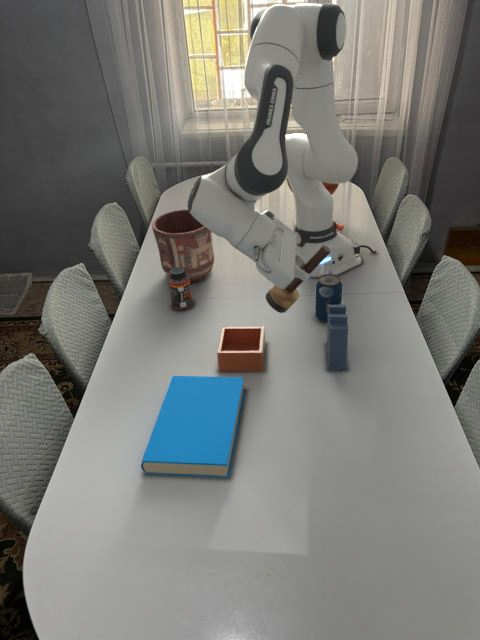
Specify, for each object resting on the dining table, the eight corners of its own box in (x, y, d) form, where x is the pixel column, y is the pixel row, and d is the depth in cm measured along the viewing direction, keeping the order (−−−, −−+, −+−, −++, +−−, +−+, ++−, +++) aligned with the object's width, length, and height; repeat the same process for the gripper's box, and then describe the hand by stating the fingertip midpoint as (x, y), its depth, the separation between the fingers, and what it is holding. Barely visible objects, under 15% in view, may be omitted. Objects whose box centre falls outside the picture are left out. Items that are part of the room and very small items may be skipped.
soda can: (330, 328, 135) (332, 289, 127) (309, 319, 138) (310, 280, 131) (345, 316, 139) (348, 278, 131) (325, 308, 142) (326, 270, 135)
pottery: (152, 286, 157) (140, 231, 146) (174, 259, 170) (165, 207, 159) (206, 291, 153) (198, 235, 142) (224, 263, 166) (219, 211, 155)
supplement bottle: (189, 311, 144) (184, 276, 137) (169, 310, 145) (163, 275, 139) (196, 300, 149) (190, 265, 142) (176, 299, 150) (170, 264, 143)
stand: (328, 370, 121) (330, 323, 113) (326, 344, 129) (328, 299, 121) (345, 370, 121) (348, 323, 113) (342, 344, 129) (345, 299, 121)
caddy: (219, 371, 123) (217, 353, 119) (224, 344, 131) (222, 326, 128) (263, 371, 122) (262, 352, 119) (265, 344, 130) (264, 326, 127)
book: (243, 376, 115) (228, 463, 95) (245, 391, 117) (230, 478, 97) (169, 375, 116) (138, 459, 96) (172, 389, 119) (142, 474, 99)
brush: (267, 318, 116) (256, 258, 106) (269, 304, 120) (259, 245, 111) (335, 313, 113) (330, 251, 104) (334, 298, 118) (330, 238, 109)
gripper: (261, 249, 97) (317, 289, 101) (269, 206, 113) (317, 242, 117) (242, 272, 100) (297, 309, 105) (252, 227, 116) (300, 261, 121)
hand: (308, 273), depth 111 cm, fingers closed on brush, 2 cm apart
